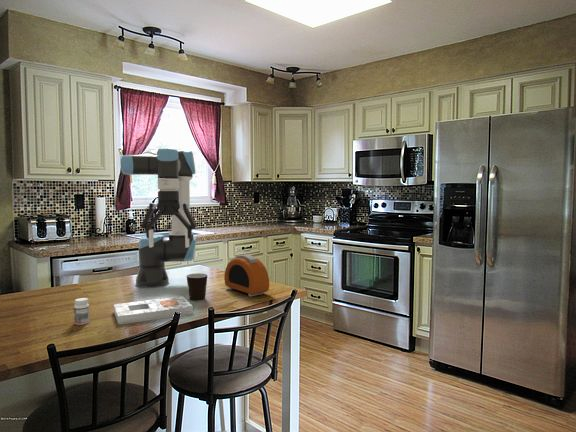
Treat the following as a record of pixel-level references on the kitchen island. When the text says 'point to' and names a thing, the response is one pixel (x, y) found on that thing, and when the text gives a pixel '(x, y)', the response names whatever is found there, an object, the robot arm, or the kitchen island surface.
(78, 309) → the pill bottle
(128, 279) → the kitchen island surface
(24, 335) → the kitchen island surface
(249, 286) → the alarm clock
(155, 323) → the kitchen island surface
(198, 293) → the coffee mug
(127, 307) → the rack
